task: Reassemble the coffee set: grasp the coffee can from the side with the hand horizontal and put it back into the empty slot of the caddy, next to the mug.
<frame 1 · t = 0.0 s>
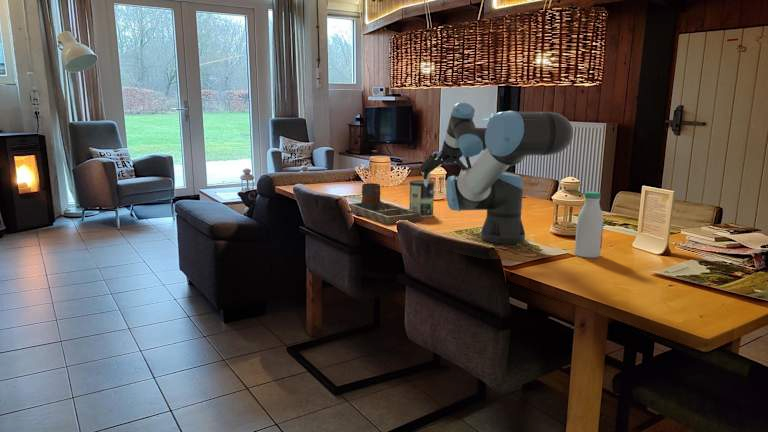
hand: (442, 184, 216), 15 cm above the table, tool tilted 35°, fingers open, 13 cm apart
milk bottle: (587, 255, 175), on the table
coffee can: (421, 215, 234), on the table
mug: (372, 212, 239), resting in caddy
caddy: (383, 215, 231), on the table
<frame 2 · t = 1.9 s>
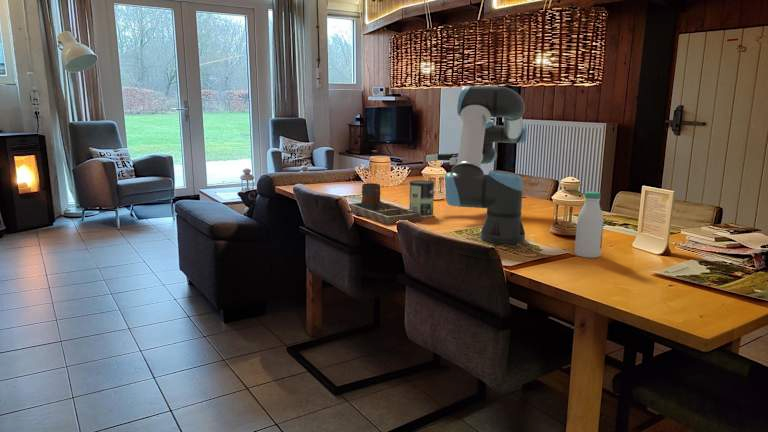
hand: (438, 160, 235), 23 cm above the table, tool horizontal, fingers open, 13 cm apart
nothing on the table moved.
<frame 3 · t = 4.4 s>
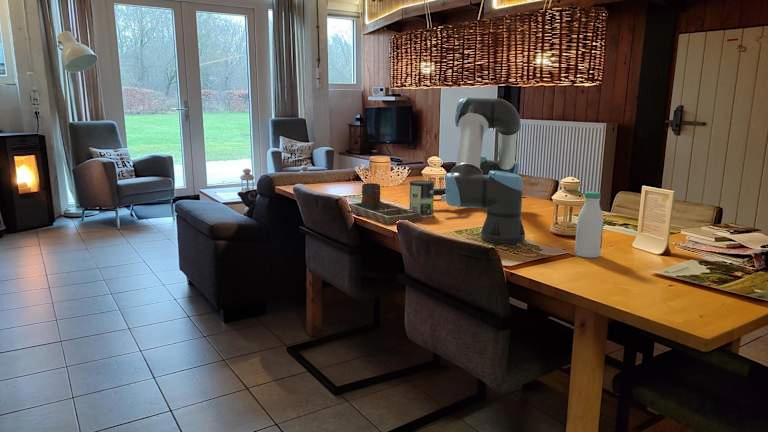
hand: (429, 196, 236), 7 cm above the table, tool horizontal, fingers open, 13 cm apart
nothing on the table moved.
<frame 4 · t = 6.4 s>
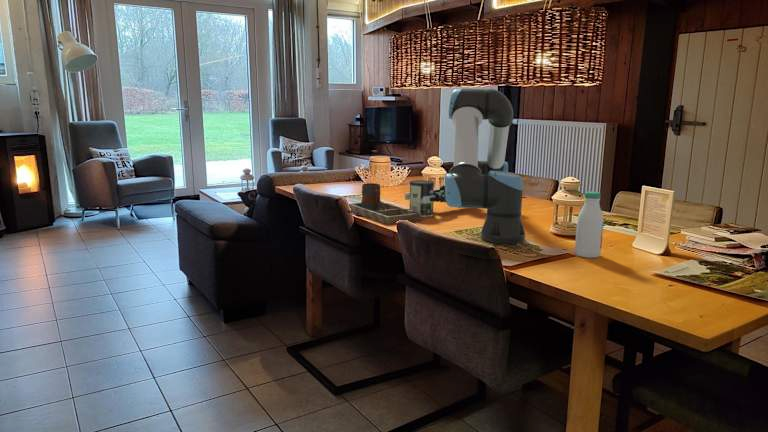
hand: (414, 198, 229), 8 cm above the table, tool horizontal, fingers closed on coffee can, 10 cm apart
coffee can: (421, 215, 234), on the table, touching gripper
everything else where it was.
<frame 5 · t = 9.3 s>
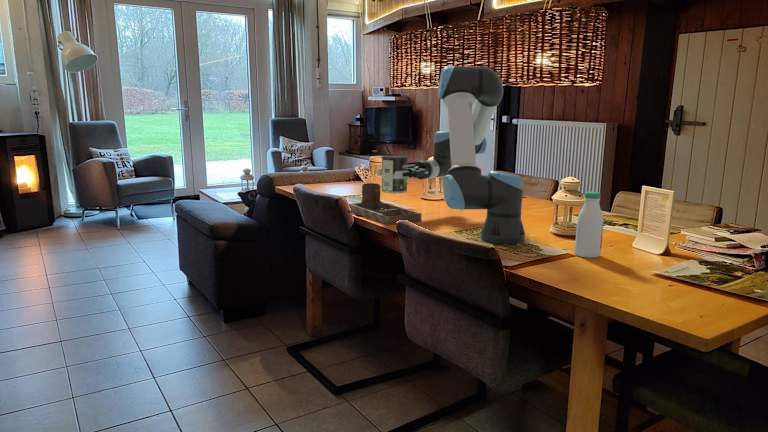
hand: (386, 173, 218), 19 cm above the table, tool horizontal, fingers closed on coffee can, 10 cm apart
coffee can: (394, 192, 223), point 11 cm above the table, touching gripper
everything else where it was.
when the fingers open (9 cm above the table, at t = 12.0 s): coffee can drops 1 cm, resting in caddy.
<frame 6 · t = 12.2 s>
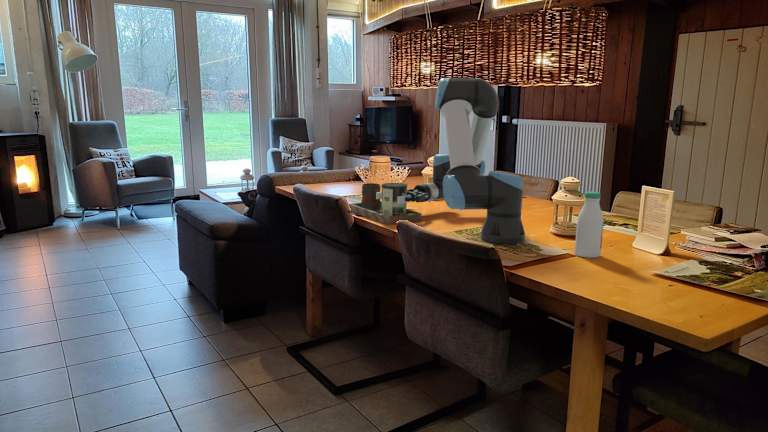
hand: (387, 197, 221), 9 cm above the table, tool horizontal, fingers open, 12 cm apart
coffee can: (393, 219, 225), resting in caddy
everything else where it was.
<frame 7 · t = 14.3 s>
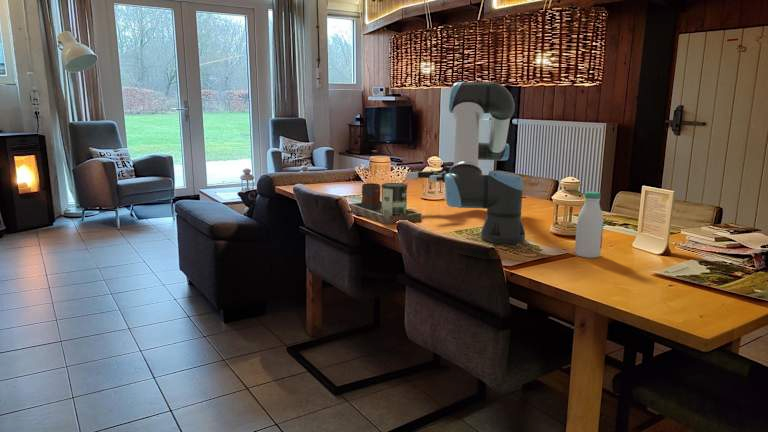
hand: (418, 177, 230), 16 cm above the table, tool horizontal, fingers open, 13 cm apart
nothing on the table moved.
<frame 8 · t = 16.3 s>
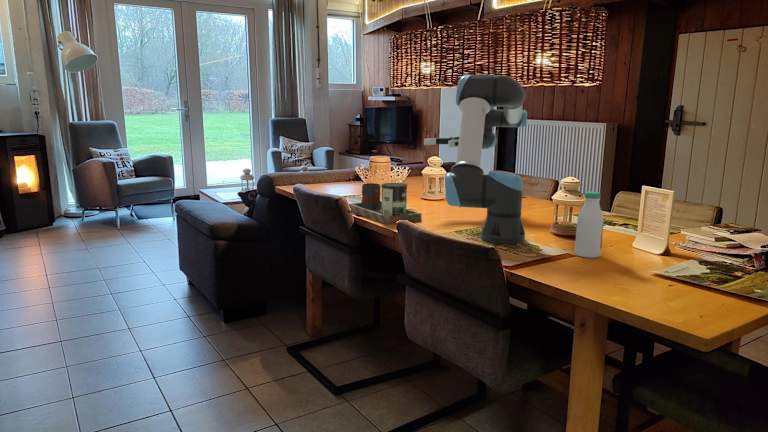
hand: (436, 142, 230), 30 cm above the table, tool horizontal, fingers open, 13 cm apart
nothing on the table moved.
at the end: coffee can inside the target area (0.1 cm from its centre), resting in caddy; coffee can tilted 0°; the gripper is holding nothing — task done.
